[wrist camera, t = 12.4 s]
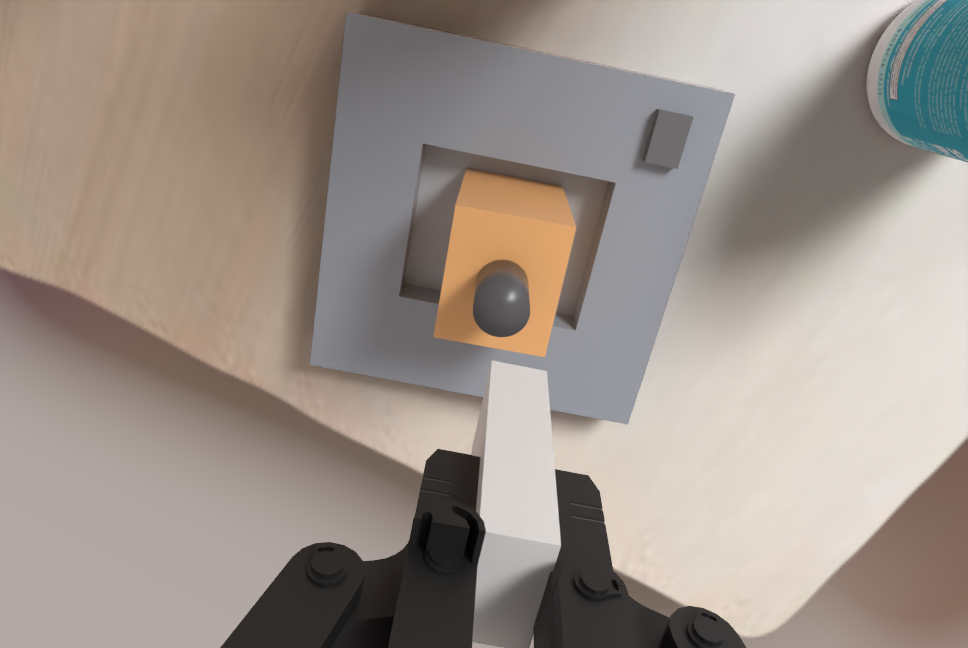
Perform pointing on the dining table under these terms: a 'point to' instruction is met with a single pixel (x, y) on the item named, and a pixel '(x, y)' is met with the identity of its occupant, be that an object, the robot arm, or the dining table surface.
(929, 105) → the pill bottle
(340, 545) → the robot arm
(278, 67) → the dining table surface
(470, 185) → the plug
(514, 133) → the socket plate
